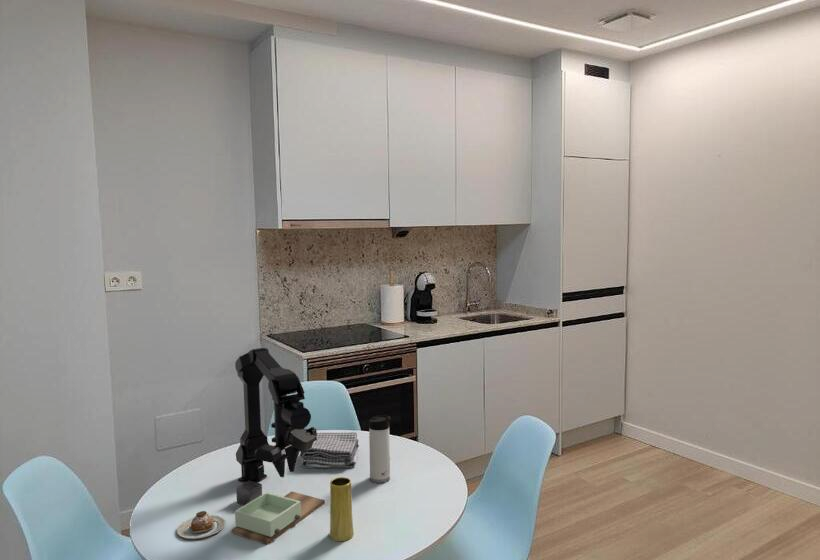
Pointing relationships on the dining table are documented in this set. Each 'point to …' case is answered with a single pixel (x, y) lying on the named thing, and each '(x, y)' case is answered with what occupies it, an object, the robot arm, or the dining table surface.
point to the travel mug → (379, 448)
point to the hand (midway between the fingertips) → (286, 474)
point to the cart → (268, 514)
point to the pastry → (201, 525)
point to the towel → (332, 451)
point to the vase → (341, 509)
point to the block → (248, 492)
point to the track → (307, 508)
